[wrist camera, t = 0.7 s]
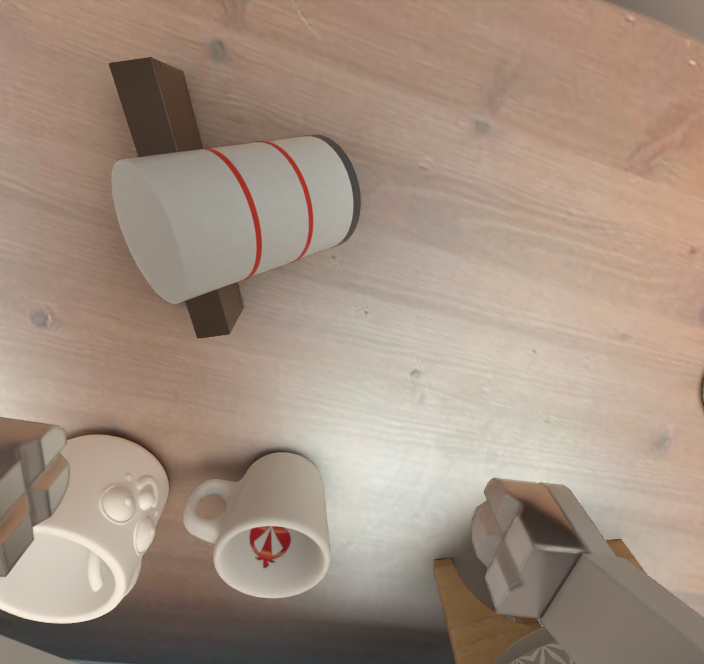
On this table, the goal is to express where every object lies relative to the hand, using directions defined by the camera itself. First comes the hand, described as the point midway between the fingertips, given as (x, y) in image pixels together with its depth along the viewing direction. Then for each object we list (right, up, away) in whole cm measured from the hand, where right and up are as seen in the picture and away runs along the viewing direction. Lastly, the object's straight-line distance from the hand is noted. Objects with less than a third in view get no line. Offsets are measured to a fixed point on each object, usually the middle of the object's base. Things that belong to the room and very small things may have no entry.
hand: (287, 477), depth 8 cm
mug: (-18, -10, +27) cm, 33 cm away
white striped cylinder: (-4, +11, +17) cm, 21 cm away
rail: (-8, +11, +17) cm, 22 cm away
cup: (-6, -9, +27) cm, 29 cm away
